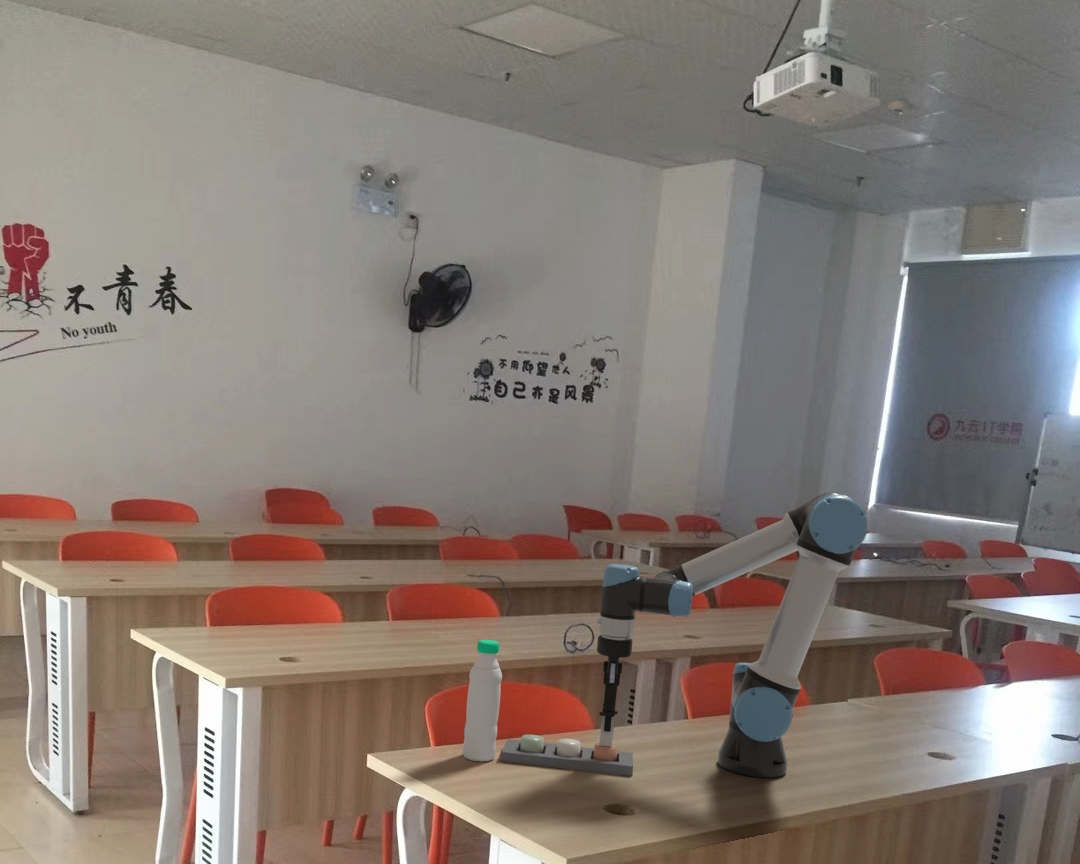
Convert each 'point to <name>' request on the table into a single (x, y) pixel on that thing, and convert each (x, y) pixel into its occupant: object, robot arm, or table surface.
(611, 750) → the button terracotta
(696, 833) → the table surface
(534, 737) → the button sage
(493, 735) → the water bottle
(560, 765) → the panel
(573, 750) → the button ivory
